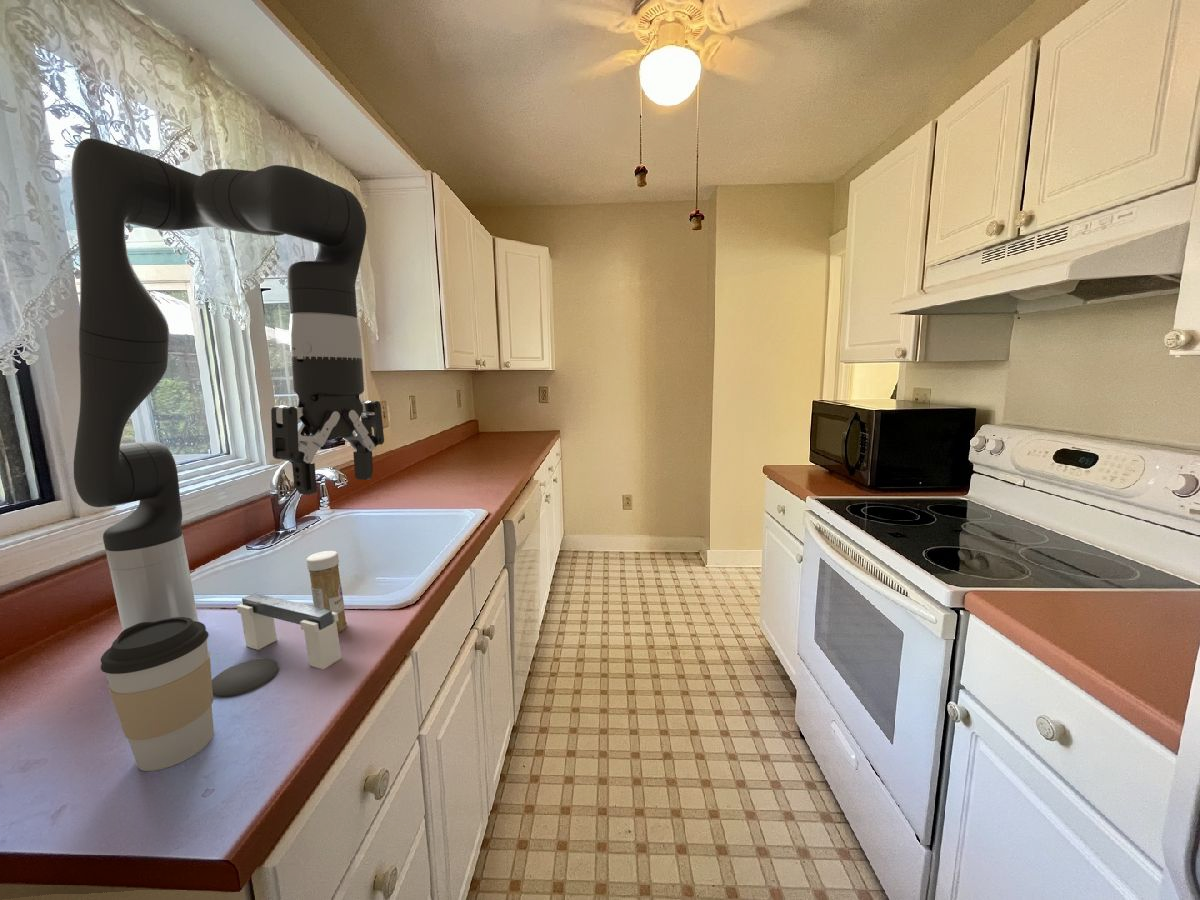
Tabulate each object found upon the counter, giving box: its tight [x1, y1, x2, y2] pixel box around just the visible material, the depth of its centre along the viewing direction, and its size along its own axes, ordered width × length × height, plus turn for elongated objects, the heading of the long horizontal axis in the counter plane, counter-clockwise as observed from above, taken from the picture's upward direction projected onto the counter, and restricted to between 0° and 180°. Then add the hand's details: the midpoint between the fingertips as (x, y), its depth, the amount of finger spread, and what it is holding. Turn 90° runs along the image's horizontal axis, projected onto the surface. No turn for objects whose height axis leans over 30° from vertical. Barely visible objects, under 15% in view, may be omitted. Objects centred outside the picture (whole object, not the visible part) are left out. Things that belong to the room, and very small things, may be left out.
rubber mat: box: [212, 657, 279, 698], centre depth 69 cm, size 8×8×1 cm
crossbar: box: [241, 592, 333, 630], centre depth 75 cm, size 18×2×2 cm, turn 67°
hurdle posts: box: [236, 603, 342, 670], centre depth 75 cm, size 18×4×7 cm, turn 67°
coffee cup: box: [100, 617, 215, 772], centre depth 55 cm, size 9×9×15 cm
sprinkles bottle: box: [306, 550, 348, 634], centre depth 81 cm, size 5×5×13 cm
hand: (337, 486), depth 61 cm, fingers open, 8 cm apart
